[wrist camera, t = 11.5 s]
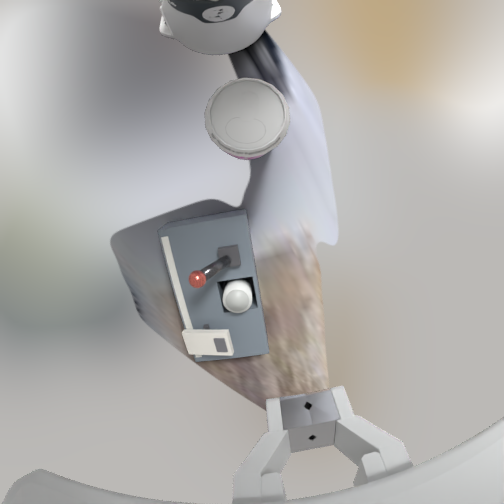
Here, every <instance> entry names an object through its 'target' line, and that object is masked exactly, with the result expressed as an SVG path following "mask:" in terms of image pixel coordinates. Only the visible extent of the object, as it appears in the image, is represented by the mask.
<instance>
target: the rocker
mask: <svg viewBox="0 0 504 504" xmlns="http://www.w3.org/2000/svg"><path fill="white" fill-rule="evenodd" d="M182 335H183V338H184V341H185V344H186V347H187V350H188V353H189V354H195V355H224V356H233V353H234V349H233V345H232V341H231V337H230V333H229V329H221V330H202V329H184V330H183V332H182Z"/></svg>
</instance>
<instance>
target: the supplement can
mask: <svg viewBox="0 0 504 504" xmlns="http://www.w3.org/2000/svg"><path fill="white" fill-rule="evenodd" d="M289 124H290V113H289V106H288V104H287V102H286V100H285V98H284V96H283V95H282V94H281V93H280V92H279V91H278V90H277V89H276V88H275V87H274V86H273V85H271V84H269V83H267V82H265V81H262V80H260V79H253V78H241V79H237V80H232V81H229V82H228V83H226V84H224V85H223V86H222V87H220V88H218V89H217V90H216V92H215V93H214V94H213V95H212V97H211V98H210V99H209V101H208V104H207V107H206V110H205V126H206V129H207V131H208V134H209V136H210V138H211V140H212V141H213V142H214V143H215V144H216V145H217V146H218V147H219V148H220V149H221V150H223V151H224V152H226V153H228V154H229V155H231V156H234V157H236V158H238V159H244V160H251V159H256V158H260V157H261V156H263V155H264V154H266V153H268V152H269V151H271V150H272V149H274V148H276V147H277V146H278V145H279V144H280V142H281V141H282V140H283V138H284V137H285V136H286V134H287V130H288V127H289Z"/></svg>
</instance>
